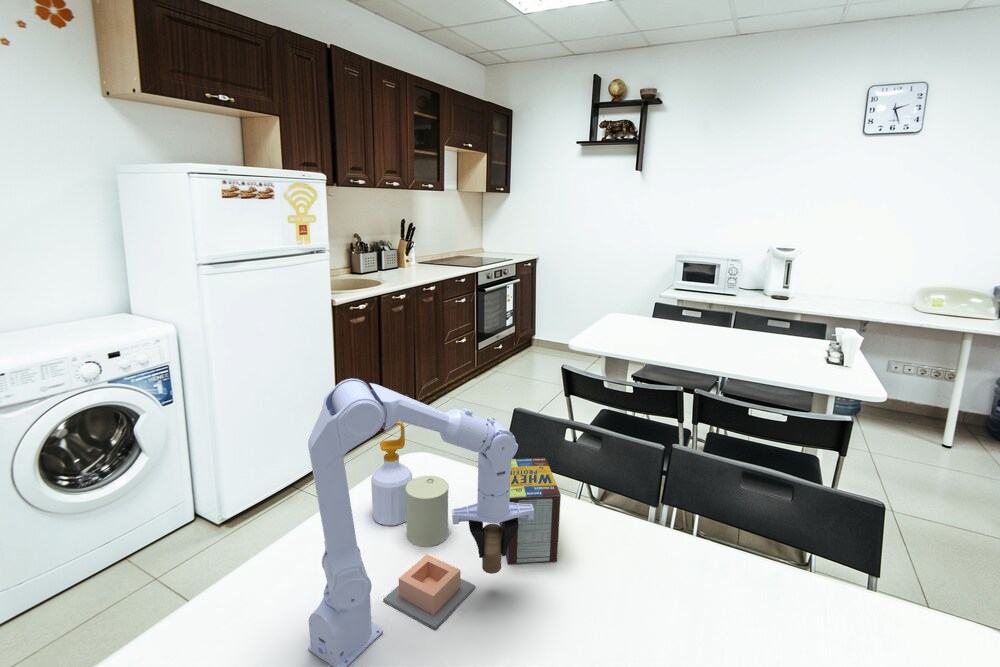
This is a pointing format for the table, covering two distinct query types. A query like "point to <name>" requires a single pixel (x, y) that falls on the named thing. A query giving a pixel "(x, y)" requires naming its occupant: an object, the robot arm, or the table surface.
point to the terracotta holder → (429, 591)
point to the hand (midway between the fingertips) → (492, 553)
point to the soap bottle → (390, 484)
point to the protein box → (541, 532)
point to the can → (427, 510)
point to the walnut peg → (492, 548)
